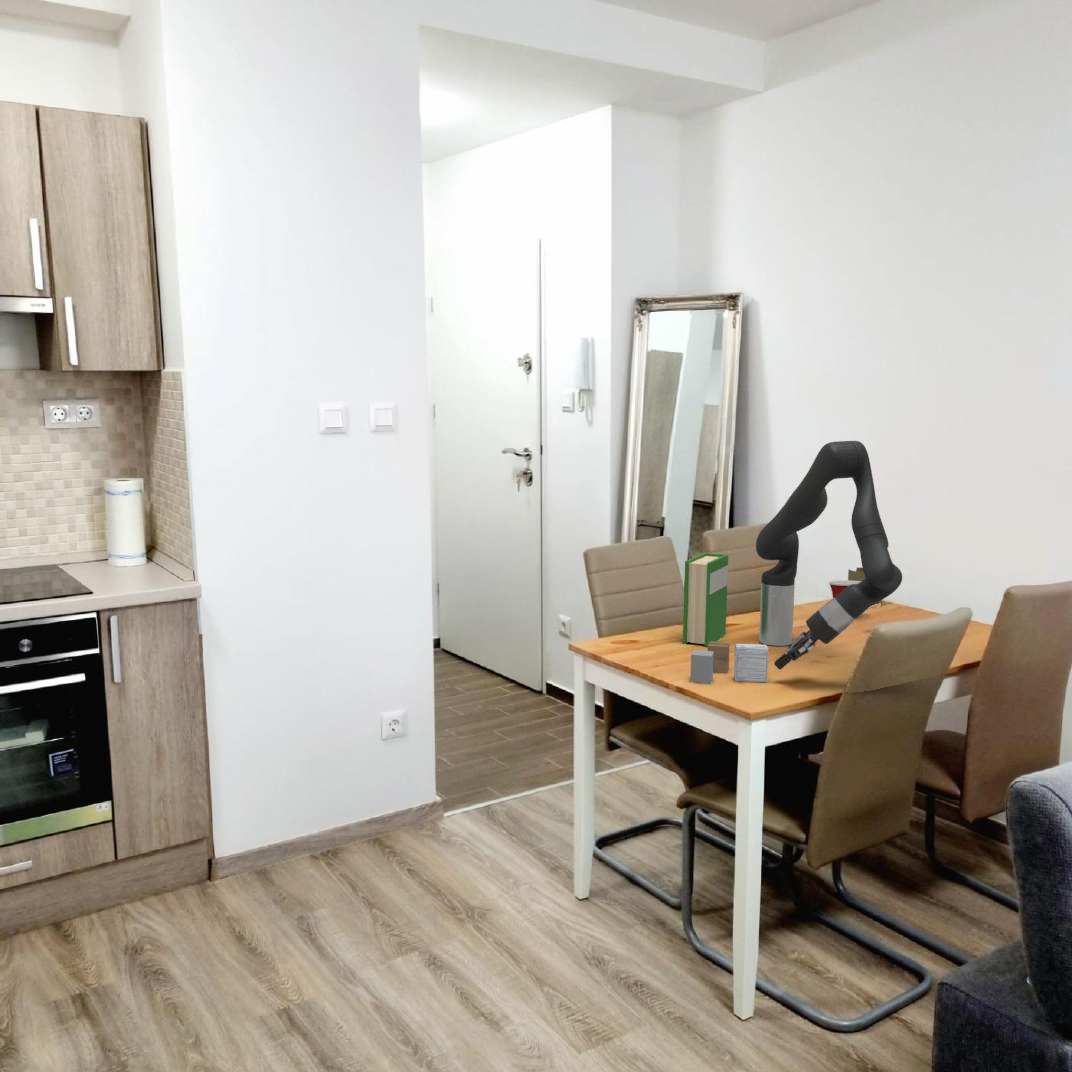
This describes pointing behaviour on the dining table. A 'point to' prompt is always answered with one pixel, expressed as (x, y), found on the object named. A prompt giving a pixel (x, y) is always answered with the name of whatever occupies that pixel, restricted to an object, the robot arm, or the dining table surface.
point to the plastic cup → (840, 586)
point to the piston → (857, 576)
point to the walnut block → (720, 656)
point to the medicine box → (751, 663)
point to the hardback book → (705, 598)
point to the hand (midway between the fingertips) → (776, 666)
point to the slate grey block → (702, 666)
